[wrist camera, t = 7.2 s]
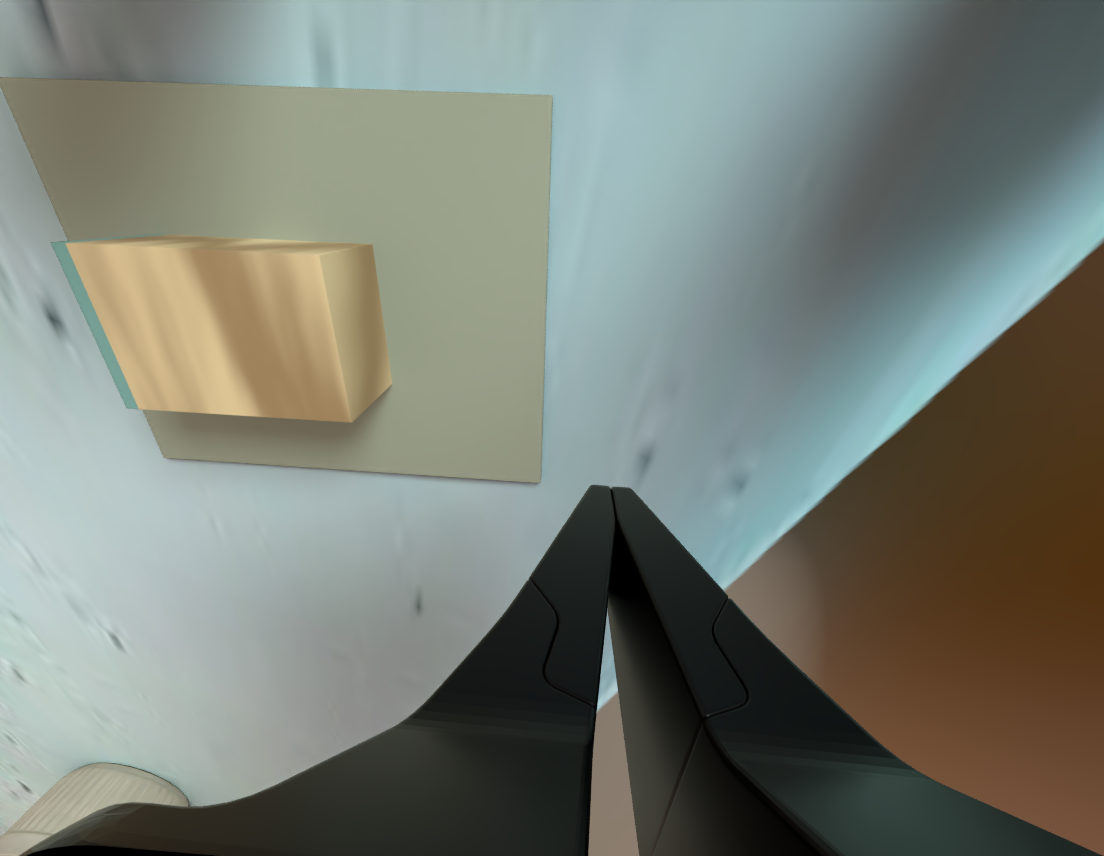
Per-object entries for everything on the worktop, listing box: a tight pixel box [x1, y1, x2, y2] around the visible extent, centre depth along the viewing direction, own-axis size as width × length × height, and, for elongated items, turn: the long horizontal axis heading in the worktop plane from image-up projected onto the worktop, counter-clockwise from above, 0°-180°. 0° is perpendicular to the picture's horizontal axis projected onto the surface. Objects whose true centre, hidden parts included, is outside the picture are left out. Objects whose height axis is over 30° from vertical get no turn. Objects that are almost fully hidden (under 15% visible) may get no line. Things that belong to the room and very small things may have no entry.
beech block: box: [51, 234, 392, 423], centre depth 17 cm, size 4×6×9 cm
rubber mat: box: [0, 77, 553, 483], centre depth 19 cm, size 20×16×1 cm
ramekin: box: [0, 763, 189, 856], centre depth 40 cm, size 13×13×7 cm
